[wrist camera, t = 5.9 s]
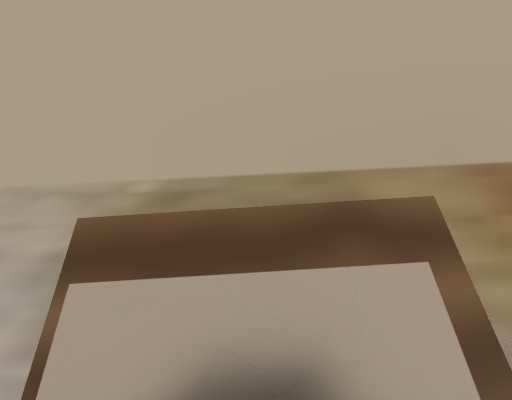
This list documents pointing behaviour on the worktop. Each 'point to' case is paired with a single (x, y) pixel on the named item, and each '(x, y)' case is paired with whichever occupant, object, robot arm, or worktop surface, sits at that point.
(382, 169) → the worktop surface
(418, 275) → the aluminium bar
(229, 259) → the walnut pocket block
